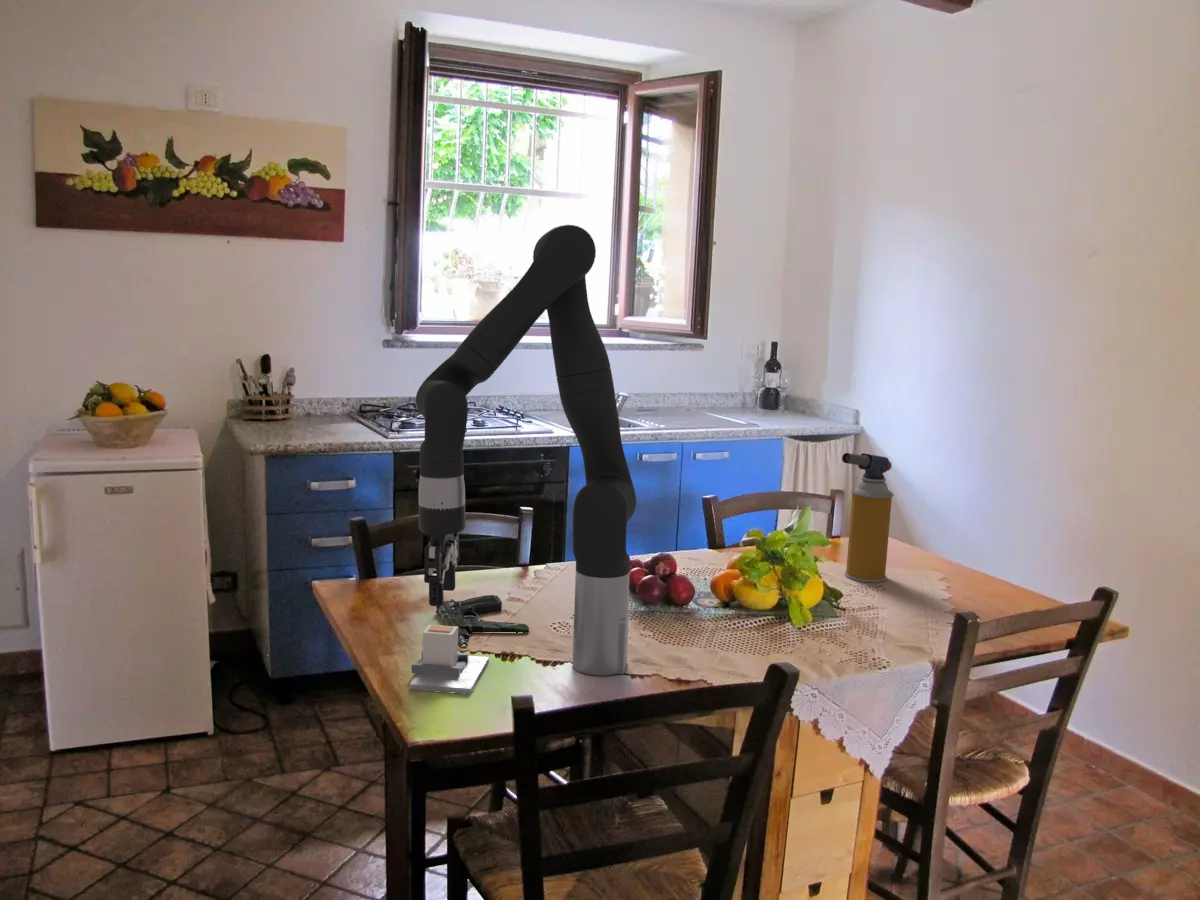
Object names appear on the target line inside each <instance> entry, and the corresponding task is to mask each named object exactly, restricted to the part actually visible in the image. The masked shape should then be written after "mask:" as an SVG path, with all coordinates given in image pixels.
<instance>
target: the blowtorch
mask: <svg viewBox="0 0 1200 900" xmlns="http://www.w3.org/2000/svg"><path fill="white" fill-rule="evenodd" d="M841 460H842V463H844V464H849V465H855V466H858V467H857V468H859V470H863V471H864V473H863V474H862V476H861V478H860V479H861V480H860V481H859V482H858V484H857V487H853V488H852V489H851V490H850V492H851V494H852V496H851V508H850V520H849V533H848V543H847V556H846V558H847V559H846V570H845V571H844V576H845V577H846V578H848V579H850V580H853V581H857V582H861V583H882V582H884V581H886V580H887V575H886V569H887V568H886V567H887V558H888V557H887V556H888V544H889V535H890V524H891V522H890V521H891V510H892V509H891V508H892V500H893V497H894V496H895V493H894V492H893V491H891V490H889V487H888V485H887V483H886V479H887V478H886V477H885V475H884V474H885V473H887V472H888V471H891V470H892V463H891V461H890V460H889V458H888V457H886V456H881V455H875V454H869V453H861V454H855V453H850V452H844V453H843V455H842V457H841Z"/></svg>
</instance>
